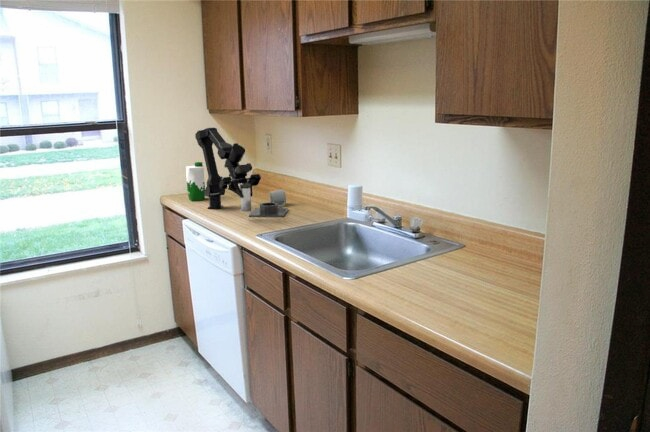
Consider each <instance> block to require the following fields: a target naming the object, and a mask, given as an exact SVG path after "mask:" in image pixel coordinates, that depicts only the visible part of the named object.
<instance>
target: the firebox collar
mask: <svg viewBox="0 0 650 432" xmlns="http://www.w3.org/2000/svg"><path fill="white" fill-rule="evenodd" d="M288 211H289V208H288V207H278V204H277V203H268V202H262V203H260V204H259V207H255V209H253V210H251V211H250V213H249V215H248V217H249V218H284V217H285V215H287V213H288Z"/></svg>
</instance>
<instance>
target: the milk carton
mask: <svg viewBox="0 0 650 432" xmlns="http://www.w3.org/2000/svg"><path fill="white" fill-rule="evenodd" d="M185 170H186V172H185V175H186V188H187V195H188V196H187V197H188V199H189V201H191V202H199V201H206V196H205V193H204V191H205V189H206V185H205V167H204V166H203V162H202V161H198V162H197V161H196V162H194V165H189V166H185Z"/></svg>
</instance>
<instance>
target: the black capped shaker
mask: <svg viewBox="0 0 650 432" xmlns="http://www.w3.org/2000/svg"><path fill="white" fill-rule="evenodd" d="M239 188H240V190H241V192H242V195H243V197H242V198H241V197H240V211H241V212H247V213H248V212H252V198H251V197H252V196H251V190H250V183H249V182H243V183H240V184H239Z"/></svg>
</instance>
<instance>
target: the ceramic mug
mask: <svg viewBox="0 0 650 432" xmlns="http://www.w3.org/2000/svg"><path fill="white" fill-rule="evenodd" d="M267 203H277V204H278V208H284V207H285V205H286V203H287V194H286V191H285V190H284V189H278V190H272V191H268V192H267Z"/></svg>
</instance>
